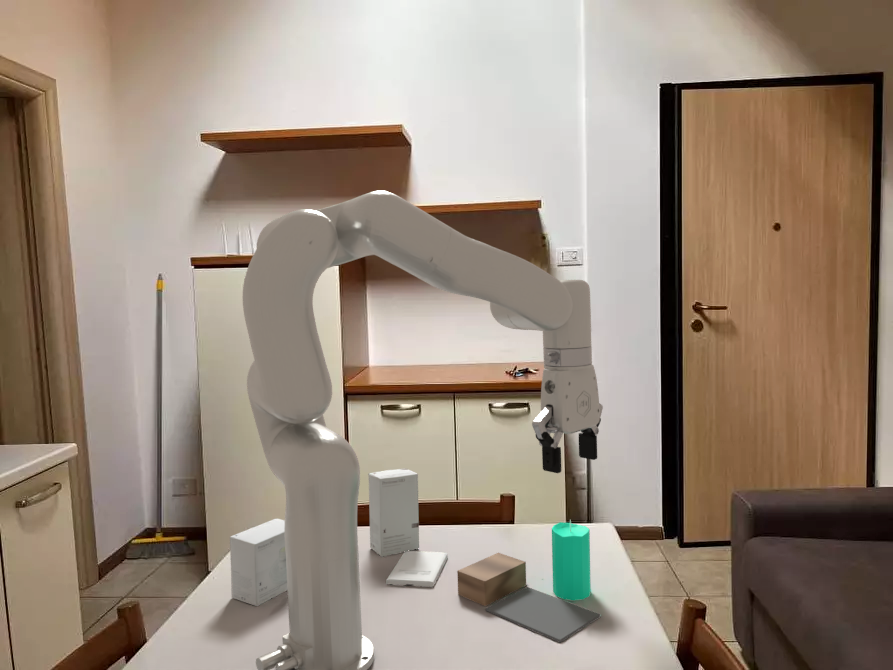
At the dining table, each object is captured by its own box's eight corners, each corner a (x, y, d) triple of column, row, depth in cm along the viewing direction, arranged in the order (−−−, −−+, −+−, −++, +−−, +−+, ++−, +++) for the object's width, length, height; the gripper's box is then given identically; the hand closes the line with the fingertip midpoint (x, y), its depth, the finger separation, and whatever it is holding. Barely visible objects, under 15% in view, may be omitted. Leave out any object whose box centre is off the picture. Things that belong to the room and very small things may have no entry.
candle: (545, 588, 112) (544, 517, 111) (576, 581, 115) (574, 511, 114) (567, 603, 107) (565, 528, 106) (598, 595, 109) (597, 521, 108)
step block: (485, 606, 107) (484, 581, 106) (458, 594, 111) (457, 570, 111) (526, 585, 114) (525, 561, 113) (499, 575, 118) (498, 552, 118)
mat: (560, 642, 95) (560, 639, 95) (485, 610, 105) (485, 608, 105) (600, 616, 102) (600, 614, 102) (527, 589, 112) (527, 586, 112)
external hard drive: (447, 560, 126) (433, 590, 114) (404, 558, 128) (386, 587, 116) (447, 552, 126) (433, 580, 114) (404, 550, 128) (385, 578, 116)
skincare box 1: (258, 607, 109) (254, 543, 108) (230, 598, 112) (227, 536, 112) (304, 582, 118) (302, 522, 117) (278, 575, 121) (275, 517, 120)
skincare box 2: (381, 558, 127) (378, 479, 126) (369, 547, 132) (365, 472, 131) (421, 548, 131) (419, 472, 130) (408, 539, 136) (405, 465, 135)
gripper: (553, 366, 99) (557, 481, 101) (618, 353, 111) (620, 457, 113) (513, 363, 105) (517, 472, 106) (579, 351, 117) (582, 450, 118)
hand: (570, 464), depth 109 cm, fingers open, 9 cm apart
